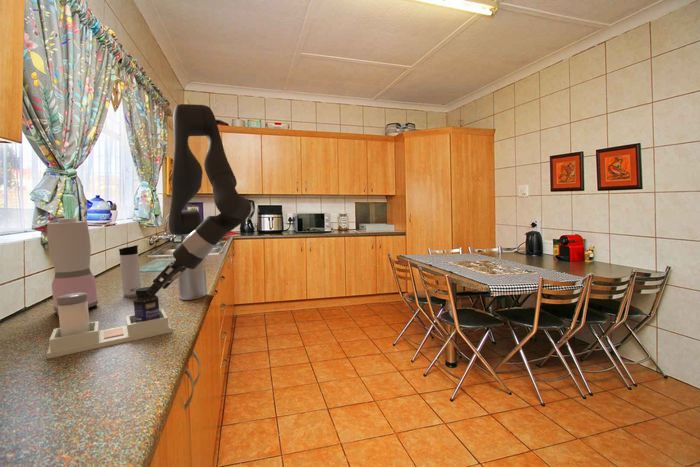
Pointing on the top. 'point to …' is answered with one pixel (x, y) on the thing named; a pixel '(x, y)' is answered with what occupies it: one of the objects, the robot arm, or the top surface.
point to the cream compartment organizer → (95, 328)
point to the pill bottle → (145, 306)
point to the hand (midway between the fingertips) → (155, 290)
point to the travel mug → (130, 270)
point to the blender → (71, 259)
